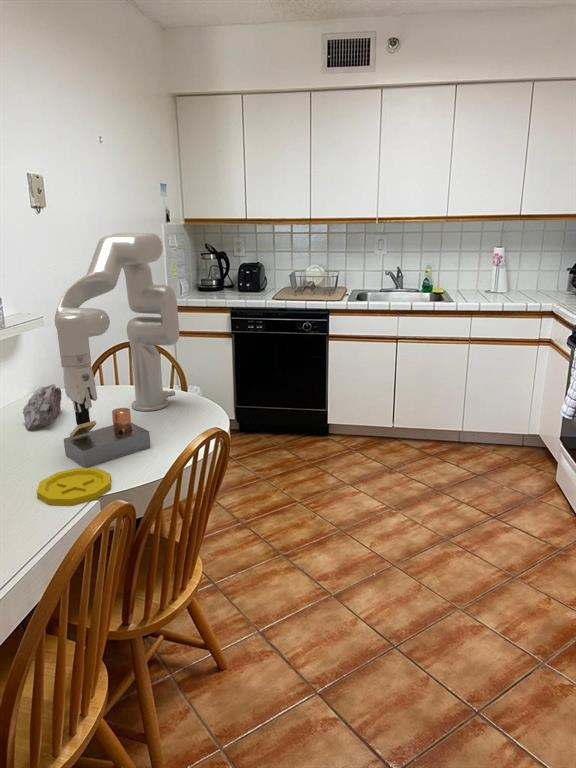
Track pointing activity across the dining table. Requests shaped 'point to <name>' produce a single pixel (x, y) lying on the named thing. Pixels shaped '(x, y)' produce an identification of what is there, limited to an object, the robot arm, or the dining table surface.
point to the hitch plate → (105, 445)
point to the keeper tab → (83, 428)
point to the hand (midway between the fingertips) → (83, 424)
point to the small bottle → (121, 420)
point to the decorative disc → (74, 486)
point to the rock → (42, 407)
